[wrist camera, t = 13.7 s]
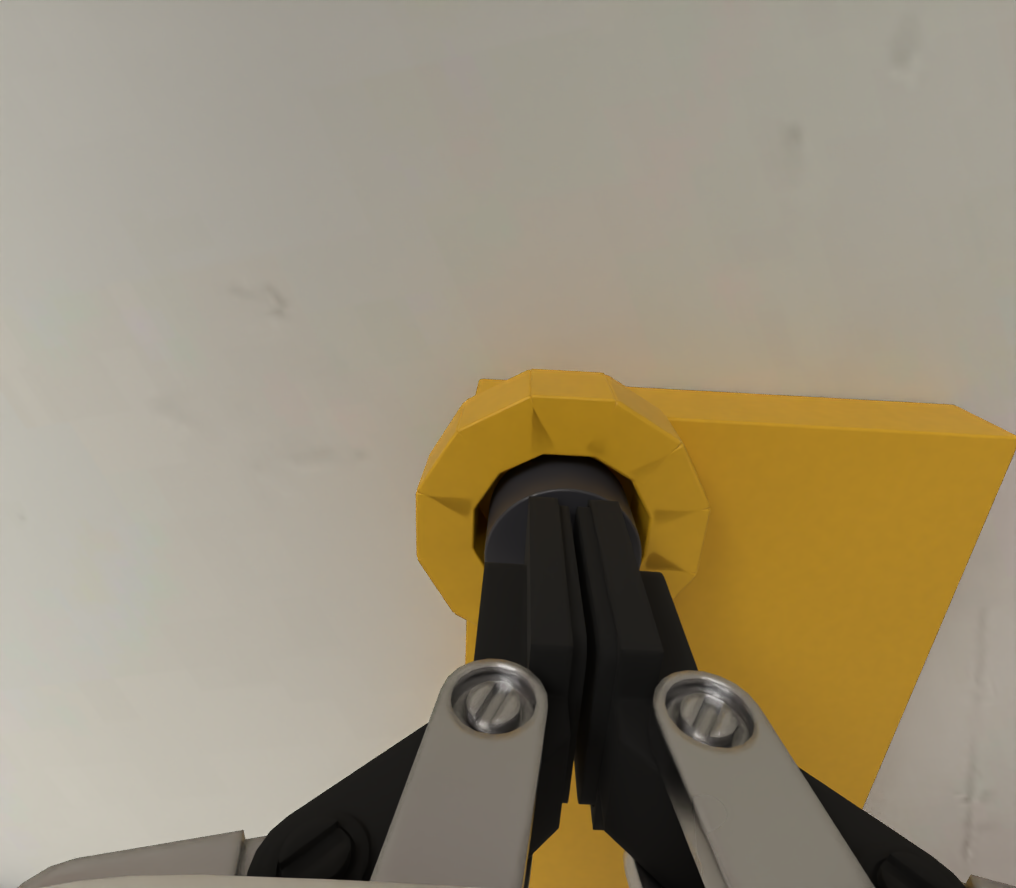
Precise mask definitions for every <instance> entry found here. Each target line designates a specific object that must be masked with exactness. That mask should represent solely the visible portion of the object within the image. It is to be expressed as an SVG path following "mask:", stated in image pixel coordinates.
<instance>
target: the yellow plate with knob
mask: <svg viewBox="0 0 1016 888" xmlns="http://www.w3.org/2000/svg"><path fill="white" fill-rule="evenodd" d="M1015 450H1016V435H1014V434H1012V433H1010V432H1008V431H1006V430H1004V429H1002V428H1000V427H998V426H996V425H994V424H992V423H990V422H988V421H986V420H984V419H982V418H979V417H977V416H975V415H973V414H971V413H969V412H967V411H965V410H963V409H961V408H959V407H957V406H955V405H948V404H930V403H912V402H894V401H875V400H857V399H839V398H821V397H803V396H785V395H766V394H748V393H730V392H712V391H694V390H675V389H657V388H639V387H625V386H624V385H622V384H621V383H619V382H618V381H616V380H615V379H613V378H611V377H610V376H608V375H604V373H598V372H580V371H562V370H544V369H531V370H527V371H525V372H523V373H520V374H518V375H516V376H514V377H512V378H510V379H508V380H494V379H480V380H479V383H478V387H477V391H476V395H475V396H473V397H471V398H469V399H467V400H466V402H464V403H463V404H462V405H461V407H460V408H459V410H458V411H457V413H456V415H455V416H454V418H453V419H452V421H451V422H450V424H449V425H448V427H447V428H446V430H445V431H444V433H443V435H442V436H441V438H440V439H439V441H438V442H437V444H436V445H435V447H434V448H433V450H432V451H431V453H430V455H429V457H428V460H427V463H426V466H425V469H424V471H423V474H422V477H421V480H420V482H419V485H418V488H417V492H416V549H417V557H418V561H419V563H420V564H421V566H422V567H423V569H424V570H425V571H426V573H427V574H428V576H429V577H430V579H431V580H432V582H433V583H434V585H435V586H436V588H437V589H438V591H439V592H440V594H441V595H442V597H443V598H444V600H445V601H446V603H447V604H448V606H449V607H450V609H451V610H452V612H454V613H455V614H456V615H458V616H460V617H462V618H464V619H466V620H467V621H466V659H465V665H466V664H468V663H470V662H472V661H474V653H475V644H476V635H477V626H478V617H479V608H480V599H481V591H482V582H483V573H484V565H485V562H484V550H485V541H486V532H487V523H488V515H489V506H490V500H491V497H492V494H493V492H494V489H495V487H496V485H497V484H498V482H499V481H500V479H501V478H502V477H503V476H504V475H505V473H506V472H508V471H509V470H510V469H511V468H514V467H516V466H518V465H520V464H522V463H525V462H527V461H529V460H531V459H534V458H536V457H538V456H540V455H542V454H548V455H566V456H584V457H590V458H593V459H594V460H596V461H598V462H600V463H601V464H603V465H604V466H606V467H607V468H608V469H609V470H610V471H611V472H612V473H613V474H614V475H615V476H616V478H617V479H618V480H619V482H620V484H621V485H622V487H623V489H624V492H625V494H626V497H627V500H628V503H629V506H630V509H631V512H632V515H633V518H634V521H635V524H636V527H637V530H638V533H639V537H640V541H641V547H642V559H641V565H640V569H639V571H652V572H660V573H662V574H663V576H664V578H665V580H666V583H667V586H668V588H669V591H670V594H671V597H672V599H673V602H674V605H675V608H676V611H677V613H678V616H679V619H680V622H681V624H682V627H683V630H684V633H685V635H686V638H687V641H688V644H689V646H690V649H691V652H692V655H693V657H694V660H695V663H696V666H697V668H698V671H704V672H708V673H711V674H715V675H719V676H721V677H723V678H725V679H727V680H729V681H731V682H733V683H735V684H736V685H738V686H739V687H740V688H742V689H743V690H744V691H745V692H747V693H748V694H749V695H750V696H751V697H752V698H753V700H754V701H755V702H756V703H757V704H758V706H759V707H760V708H761V710H762V711H763V713H764V714H765V716H766V717H767V719H768V721H769V722H770V724H771V725H772V727H773V728H774V730H775V732H776V733H777V735H778V736H779V738H780V739H781V741H782V743H783V744H784V746H785V747H786V749H787V750H788V752H789V754H790V755H791V757H792V758H793V760H794V761H795V763H796V765H797V766H798V767H799V768H801V769H802V770H804V771H805V772H807V773H808V774H810V775H811V776H813V777H814V778H816V779H817V780H819V781H820V782H822V783H823V784H825V785H826V786H828V787H829V788H831V789H832V790H834V791H835V792H837V793H838V794H840V795H841V796H843V797H844V798H846V799H847V800H849V801H850V802H852V803H853V804H855V805H856V806H858V807H859V808H861V809H863V806H864V804H865V802H866V799H867V797H868V795H869V792H870V790H871V787H872V785H873V783H874V780H875V778H876V776H877V773H878V771H879V769H880V766H881V764H882V762H883V759H884V757H885V755H886V752H887V750H888V748H889V745H890V743H891V741H892V738H893V736H894V734H895V731H896V729H897V727H898V724H899V722H900V720H901V717H902V715H903V713H904V710H905V708H906V706H907V703H908V701H909V699H910V696H911V694H912V692H913V689H914V687H915V684H916V682H917V680H918V677H919V675H920V673H921V670H922V668H923V666H924V663H925V661H926V659H927V656H928V654H929V652H930V649H931V647H932V645H933V642H934V640H935V638H936V635H937V633H938V631H939V628H940V626H941V624H942V621H943V619H944V617H945V614H946V612H947V610H948V607H949V605H950V603H951V600H952V598H953V596H954V593H955V591H956V588H957V586H958V584H959V581H960V579H961V577H962V574H963V572H964V570H965V567H966V565H967V563H968V560H969V558H970V556H971V553H972V551H973V549H974V546H975V544H976V542H977V539H978V537H979V535H980V532H981V530H982V528H983V525H984V523H985V521H986V518H987V516H988V514H989V511H990V509H991V507H992V504H993V502H994V500H995V497H996V495H997V493H998V490H999V488H1000V485H1001V483H1002V481H1003V478H1004V476H1005V474H1006V471H1007V469H1008V467H1009V464H1010V462H1011V460H1012V457H1013V455H1014V453H1015ZM623 853H624V849H623V848H622V847H621V846H620V845H619V844H618V843H616V842H615V841H614V840H613V839H612V838H611V837H610V836H609V835H608V834H607V833H606V832H605V831H604V830H593V827H592V817H591V808H590V805H584V804H579V803H578V800H577V790H576V779H575V767H574V762H573V770H572V778H571V785H570V793H569V800H568V803H562V809H561V817H560V825H559V829H558V830H557V831H556V832H555V833H554V834H553V835H552V836H551V837H550V838H549V839H548V840H547V841H545V842H544V843H543V844H542V845H541V846H540V847H539V848H538V849H537V850H536V851H535V852H534V853H533V859H532V869H531V876H530V883H529V888H629V885H628V881H627V878H626V874H625V869H624V862H623Z"/></svg>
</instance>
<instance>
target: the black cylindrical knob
mask: <svg viewBox="0 0 1016 888" xmlns="http://www.w3.org/2000/svg"><path fill="white" fill-rule="evenodd" d="M529 496H535V497H553V498H558V504H559V505H561V506H569V511H570V518H571V526H572V533H574V524H575V515H576V509H577V506H579V507H587V503H588V500H606V501H618V502H619V505H620V508H621V511H622V514H623V518H624V521H625V524H626V528H627V531H628V534H629V538H630V541H631V544H632V548H633V551H634V554H635V557H636V561H637V564H638V567H639V569H640V565H641V559H642V547H641V541H640V537H639V533H638V530H637V527H636V524H635V521H634V518H633V515H632V512H631V509H630V506H629V503H628V500H627V497H626V494H625V492H624V489H623V487H622V485H621V484H620V482H619V480H618V479H617V478H616V476H615V475H614V474H613V473H612V472H611V471H610V470H609V469H608V468H607V467H606V466H604V465H603V464H601V463H600V462H598V461H596V460H594V459H593V458H590V457H584V456H566V455H548V454H542V455H540V456H538V457H536V458H534V459H531V460H529V461H527V462H525V463H522V464H520V465H518V466H516V467H514V468H511V469H510V470H509V471H508V472H506V473H505V475H504V476H503V477H502V478H501V479H500V481H499V482H498V484H497V485H496V487H495V489H494V492H493V494H492V497H491V500H490V506H489V515H488V523H487V532H486V541H485V550H484V562H496V563H514V564H524V556H525V542H526V528H527V514H528V501H529Z"/></svg>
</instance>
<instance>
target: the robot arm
mask: <svg viewBox="0 0 1016 888" xmlns="http://www.w3.org/2000/svg"><path fill="white" fill-rule="evenodd" d="M573 762H574V767H575V779H576V790H577V800H578V803H579V804H584V805H590V808H591V817H592V827H593V830H604V831H605V832H606V833H607V834H608V835H609V836H610V837H611V838H612V839H613V840H614V841H615V842H616V843H618V844H619V845H620V846H621V847H622V848H623V849H624V853H623V862H624V869H625V874H626V878H627V881H628V885H629V888H1016V887H1015V886H1011V885H1008V884H1004V883H1000V882H997V881H993V880H990V879H986V878H982V877H979V876H975V875H972V874H971V875H970V877H969V879H968V881H967V882H966V883H963V882H961V881H960V880H959V879H958V878H957V877H956V876H955V875H954V874H953V873H952V872H951V871H950V870H949V869H947V868H946V867H945V866H944V865H942V864H941V863H940V862H938V861H937V860H936V859H935V858H933V857H932V856H931V855H929V854H928V853H926V852H925V851H923V850H922V849H920V848H919V847H917V846H916V845H914V844H913V843H911V842H910V841H908V840H907V839H905V838H904V837H903V836H901V835H900V834H898V833H897V832H895V831H894V830H892V829H891V828H889V827H888V826H886V825H885V824H883V823H882V822H880V821H879V820H877V819H876V818H874V817H873V816H871V815H870V814H868V813H867V812H865V811H864V810H862V809H861V808H859V807H858V806H856V805H855V804H853V803H852V802H850V801H849V800H847V799H846V798H844V797H843V796H841V795H840V794H838V793H837V792H835V791H834V790H832V789H831V788H829V787H828V786H826V785H825V784H823V783H822V782H820V781H819V780H817V779H816V778H814V777H813V776H811V775H810V774H808V773H807V772H805V771H804V770H802V769H801V768H799V767H798V766H797V765H796V763H795V761H794V760H793V758H792V757H791V755H790V754H789V752H788V750H787V749H786V747H785V746H784V744H783V743H782V741H781V739H780V738H779V736H778V735H777V733H776V732H775V730H774V728H773V727H772V725H771V724H770V722H769V721H768V719H767V717H766V716H765V714H764V713H763V711H762V710H761V708H760V707H759V706H758V704H757V703H756V702H755V701H754V700H753V698H752V697H751V696H750V695H749V694H748V693H747V692H745V691H744V690H743V689H742V688H740V687H739V686H738V685H736V684H735V683H733V682H731V681H729V680H727V679H725V678H723V677H721V676H719V675H715V674H711V673H708V672H704V671H698V668H697V666H696V663H695V660H694V657H693V655H692V652H691V649H690V646H689V644H688V641H687V638H686V635H685V633H684V630H683V627H682V624H681V622H680V619H679V616H678V613H677V611H676V608H675V605H674V602H673V599H672V597H671V594H670V591H669V588H668V586H667V583H666V580H665V578H664V576H663V574H662V573H660V572H652V571H639V567H638V564H637V561H636V557H635V554H634V551H633V548H632V544H631V541H630V538H629V534H628V531H627V528H626V524H625V521H624V518H623V514H622V511H621V508H620V505H619V502H618V501H606V500H588V503H587V507H579V506H577V509H576V515H575V524H574V533H572V526H571V518H570V511H569V506H561V505H559V504H558V498H553V497H535V496H529V501H528V514H527V528H526V542H525V556H524V564H514V563H496V562H485V565H484V573H483V582H482V591H481V599H480V608H479V617H478V626H477V635H476V644H475V653H474V661H472V662H470V663H468V664H466V665H463V666H461V667H459V668H458V669H457V670H455V671H454V672H453V673H452V674H451V675H450V676H448V678H447V679H446V681H445V683H444V684H443V686H442V688H441V690H440V693H439V695H438V698H437V701H436V703H435V706H434V709H433V712H432V714H431V717H430V720H429V722H428V723H427V724H426V725H424V726H423V727H421V728H420V729H418V730H417V731H415V732H414V733H412V734H411V735H409V736H408V737H406V738H405V739H403V740H402V741H400V742H399V743H397V744H396V745H394V746H393V747H391V748H390V749H388V750H387V751H385V752H384V753H382V754H380V755H379V756H377V757H376V758H374V759H373V760H371V761H370V762H368V763H367V764H365V765H364V766H362V767H361V768H359V769H358V770H356V771H355V772H353V773H352V774H350V775H349V776H347V777H346V778H344V779H343V780H341V781H340V782H338V783H337V784H335V785H334V786H332V787H331V788H329V789H328V790H326V791H325V792H323V793H322V794H320V795H319V796H317V797H316V798H314V799H313V800H311V801H310V802H308V803H307V804H305V805H304V806H302V807H301V808H299V809H298V810H296V811H295V812H293V813H292V814H290V815H289V816H288V817H286V818H285V819H284V820H283V821H282V822H280V823H279V824H278V825H277V826H276V827H275V828H273V829H272V830H271V831H270V832H269V834H268V835H267V836H263V837H257V838H251V839H245V835H244V830H241V831H235V832H229V833H223V834H218V835H212V836H206V837H200V838H194V839H188V840H182V841H176V842H170V843H164V844H158V845H152V846H146V847H140V848H135V849H129V850H123V851H117V852H111V853H105V854H99V855H93V856H87V857H81V858H75V859H72V860H69V861H66V862H63V863H60V864H57V865H54V866H50V867H48V868H47V869H45V870H44V871H42V872H40V873H39V874H37V875H35V876H34V877H32V878H30V879H29V880H27V881H25V882H24V883H22V884H21V885H20V886H19V887H18V888H529V883H530V876H531V869H532V859H533V853H534V852H535V851H536V850H537V849H538V848H539V847H540V846H541V845H542V844H543V843H544V842H545V841H547V840H548V839H549V838H550V837H551V836H552V835H553V834H554V833H555V832H556V831H557V830H558V829H559V825H560V817H561V809H562V803H568V800H569V793H570V785H571V778H572V770H573Z"/></svg>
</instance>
